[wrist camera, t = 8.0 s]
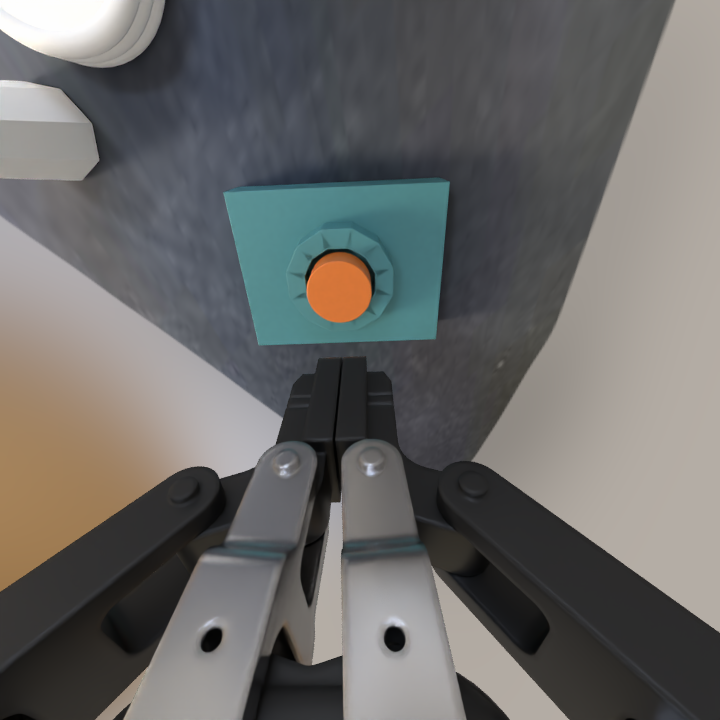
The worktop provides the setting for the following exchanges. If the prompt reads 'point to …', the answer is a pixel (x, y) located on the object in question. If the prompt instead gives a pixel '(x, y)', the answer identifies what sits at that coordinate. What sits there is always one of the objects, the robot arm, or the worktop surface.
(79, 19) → the white round stack
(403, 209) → the button base
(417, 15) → the worktop surface
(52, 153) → the pepper shaker
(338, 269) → the orange button cap
